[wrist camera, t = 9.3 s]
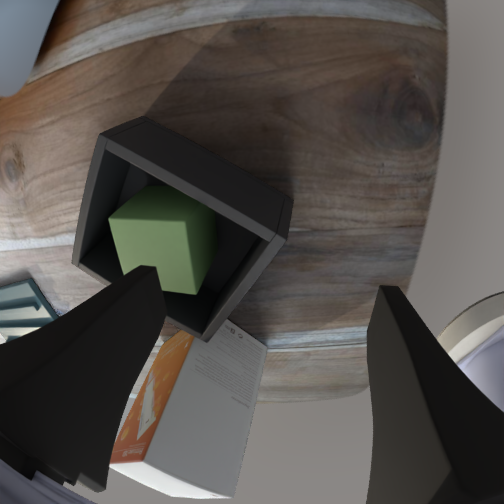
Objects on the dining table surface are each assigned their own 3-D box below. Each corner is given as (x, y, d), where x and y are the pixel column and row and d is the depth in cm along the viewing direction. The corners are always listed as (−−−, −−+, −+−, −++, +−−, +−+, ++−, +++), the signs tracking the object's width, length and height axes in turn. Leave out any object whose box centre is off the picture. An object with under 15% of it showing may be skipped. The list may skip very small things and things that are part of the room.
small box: (207, 302, 24) (141, 462, 13) (270, 346, 25) (236, 500, 14) (160, 343, 28) (102, 465, 17) (214, 378, 29) (175, 498, 18)
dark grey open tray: (294, 199, 18) (287, 239, 14) (224, 298, 23) (207, 343, 19) (143, 115, 17) (98, 133, 13) (105, 229, 22) (70, 263, 18)
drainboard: (31, 277, 27) (24, 285, 26) (90, 357, 33) (85, 366, 32) (-23, 293, 34) (-29, 299, 32) (20, 351, 39) (15, 357, 38)
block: (218, 250, 20) (197, 295, 17) (156, 245, 21) (126, 285, 17) (212, 185, 18) (185, 220, 14) (145, 185, 19) (107, 217, 15)
